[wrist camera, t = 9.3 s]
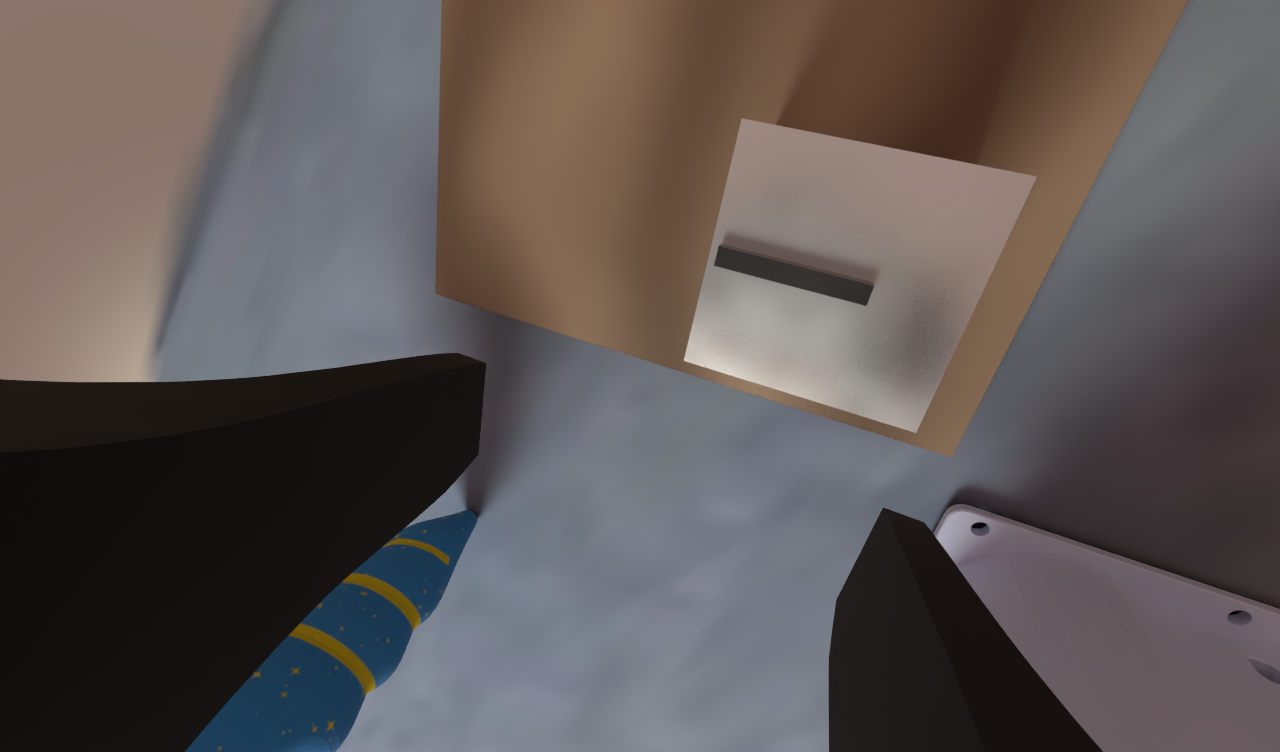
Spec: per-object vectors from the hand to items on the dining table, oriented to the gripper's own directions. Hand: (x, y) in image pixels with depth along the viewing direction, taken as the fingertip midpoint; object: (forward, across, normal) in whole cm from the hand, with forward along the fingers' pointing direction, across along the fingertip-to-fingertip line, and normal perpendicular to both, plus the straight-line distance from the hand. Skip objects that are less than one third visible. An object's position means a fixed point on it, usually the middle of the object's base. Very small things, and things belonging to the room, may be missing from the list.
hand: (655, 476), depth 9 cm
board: (+10, +2, -6) cm, 12 cm away
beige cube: (+8, -2, -3) cm, 9 cm away
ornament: (+10, +10, +13) cm, 19 cm away
